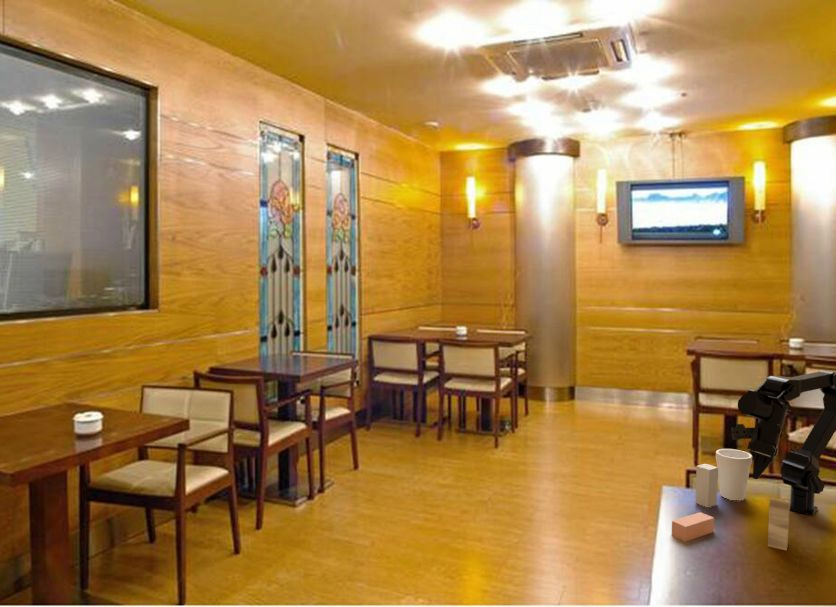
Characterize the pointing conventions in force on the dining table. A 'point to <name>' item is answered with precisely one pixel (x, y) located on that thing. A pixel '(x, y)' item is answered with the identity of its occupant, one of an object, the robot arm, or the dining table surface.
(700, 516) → the terracotta block
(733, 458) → the foam cup
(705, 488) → the grey post
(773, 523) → the birch post
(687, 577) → the dining table surface
